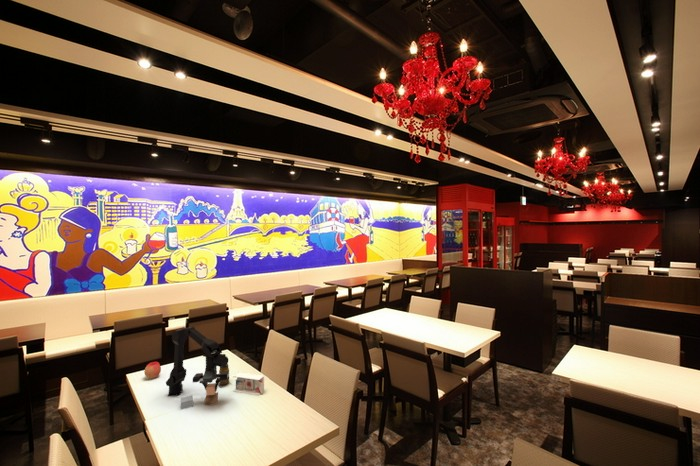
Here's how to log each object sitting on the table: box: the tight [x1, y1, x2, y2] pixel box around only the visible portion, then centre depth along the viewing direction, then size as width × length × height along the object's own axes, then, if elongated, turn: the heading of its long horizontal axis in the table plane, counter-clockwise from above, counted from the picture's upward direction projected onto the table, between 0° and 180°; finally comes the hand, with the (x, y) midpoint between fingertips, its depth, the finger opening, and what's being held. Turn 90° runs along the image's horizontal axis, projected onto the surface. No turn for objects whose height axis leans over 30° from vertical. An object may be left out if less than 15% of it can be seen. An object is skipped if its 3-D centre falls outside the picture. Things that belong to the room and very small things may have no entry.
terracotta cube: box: [205, 382, 218, 396], centre depth 179 cm, size 4×4×4 cm
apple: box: [143, 361, 162, 380], centre depth 212 cm, size 10×10×10 cm
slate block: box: [180, 394, 194, 410], centre depth 176 cm, size 6×6×4 cm
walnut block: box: [204, 391, 219, 406], centre depth 179 cm, size 6×6×4 cm
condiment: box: [218, 363, 233, 388], centre depth 201 cm, size 7×8×12 cm
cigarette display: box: [232, 372, 265, 396], centre depth 191 cm, size 20×6×9 cm, turn 73°
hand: (211, 391), depth 179 cm, fingers closed on terracotta cube, 4 cm apart
